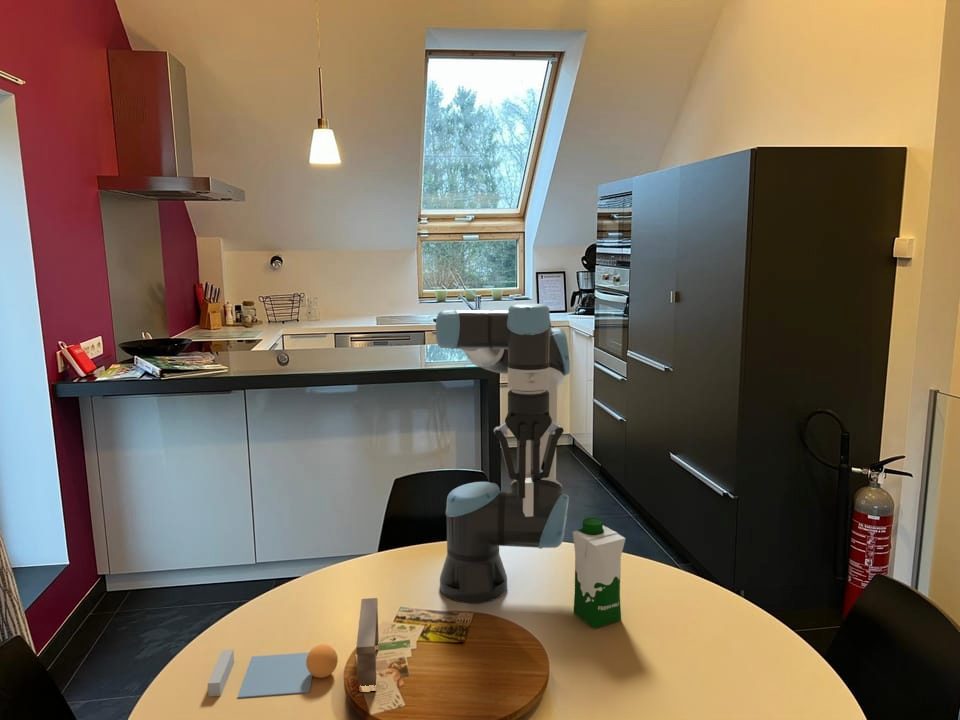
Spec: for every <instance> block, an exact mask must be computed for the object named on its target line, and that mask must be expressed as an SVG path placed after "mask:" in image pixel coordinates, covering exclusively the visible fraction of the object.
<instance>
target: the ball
mask: <svg viewBox="0 0 960 720" xmlns="http://www.w3.org/2000/svg"><path fill="white" fill-rule="evenodd" d="M308 653H309V654H308V656H307V659H306V666H307V669H308V671H309V672H310V674H311V675H313V677H315V678H318V679H322V678H323V679H324V678H326V677H329V676H330V675H332V673H334V672H335V670H336V668H337V665H338V663H339V659H338V654H337V652H336V649H334V648H333V647H332V646H331V645H329V644H317V645H316V646H314V647H312V648H311V649H310V651H309V652H308Z"/></svg>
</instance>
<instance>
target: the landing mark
mask: <svg viewBox="0 0 960 720" xmlns="http://www.w3.org/2000/svg"><path fill="white" fill-rule="evenodd" d="M308 654H309V652H296V653H284V654H268V655H252V656H251V658H250V661H249V663H248V666H247V669H246V672H245V675H244V678H243V681H242V684H241V686H240V689H239V692H238V694H237V699H243V698H245V699H246V698H256V697H257V698H258V697H267V696H269V697H270V696H283V695H297V694H309V693H310V691H311V685H312V680H313V677H314V676H313V675H311V674H310V672H309V671H308V669H307V666H306V659H307V656H308Z"/></svg>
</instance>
